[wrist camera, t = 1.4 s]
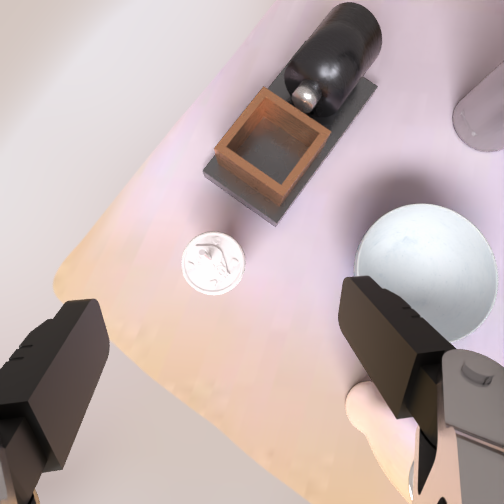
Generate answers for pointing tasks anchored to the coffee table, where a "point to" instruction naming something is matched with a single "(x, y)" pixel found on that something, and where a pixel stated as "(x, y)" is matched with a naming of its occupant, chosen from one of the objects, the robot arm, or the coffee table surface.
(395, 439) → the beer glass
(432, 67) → the coffee table surface
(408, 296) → the chinaware
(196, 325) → the coffee table surface
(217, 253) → the smoothie
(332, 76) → the motor mount
